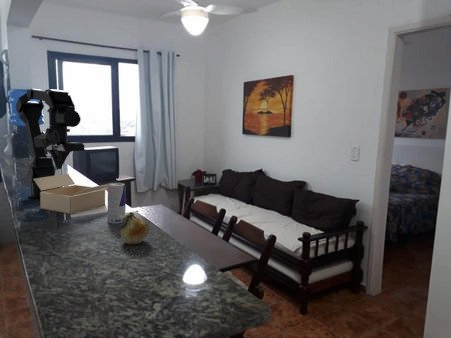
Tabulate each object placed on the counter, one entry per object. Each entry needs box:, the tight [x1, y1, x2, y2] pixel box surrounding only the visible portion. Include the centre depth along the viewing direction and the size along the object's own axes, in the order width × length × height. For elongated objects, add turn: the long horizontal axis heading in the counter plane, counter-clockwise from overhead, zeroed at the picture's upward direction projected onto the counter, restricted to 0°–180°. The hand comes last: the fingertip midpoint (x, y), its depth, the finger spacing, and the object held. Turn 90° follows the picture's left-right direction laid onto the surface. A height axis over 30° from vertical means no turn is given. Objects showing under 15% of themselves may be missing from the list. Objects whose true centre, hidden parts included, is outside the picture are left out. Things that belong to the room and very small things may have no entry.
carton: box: [39, 184, 106, 215], centre depth 119 cm, size 14×17×6 cm
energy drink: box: [107, 182, 127, 225], centre depth 104 cm, size 5×5×12 cm
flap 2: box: [73, 182, 111, 196], centre depth 116 cm, size 5×15×1 cm, turn 160°
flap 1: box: [33, 173, 76, 191], centre depth 122 cm, size 5×15×1 cm
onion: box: [118, 211, 151, 245], centre depth 87 cm, size 8×8×8 cm
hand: (58, 169), depth 120 cm, fingers closed
